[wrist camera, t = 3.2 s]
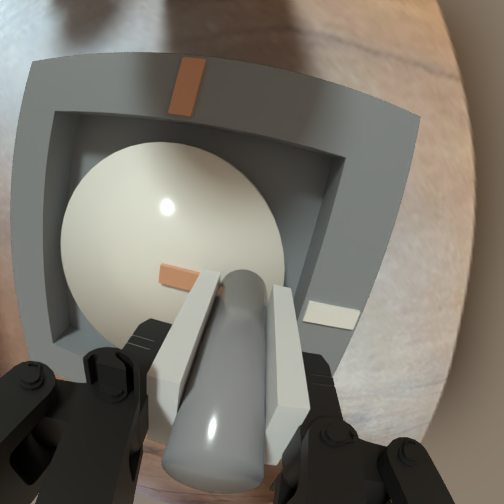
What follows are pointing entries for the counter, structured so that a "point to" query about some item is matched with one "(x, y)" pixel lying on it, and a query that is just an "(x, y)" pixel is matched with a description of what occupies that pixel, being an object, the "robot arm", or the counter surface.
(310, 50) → the counter surface
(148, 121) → the dial board
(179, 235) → the dial
